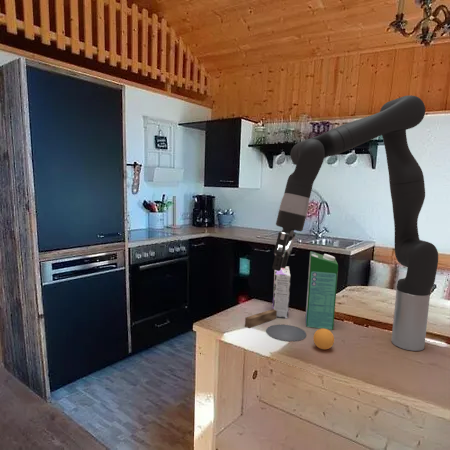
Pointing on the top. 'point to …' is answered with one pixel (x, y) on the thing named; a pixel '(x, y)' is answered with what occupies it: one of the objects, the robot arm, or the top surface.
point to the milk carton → (321, 291)
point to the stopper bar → (260, 318)
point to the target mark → (286, 332)
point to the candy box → (281, 292)
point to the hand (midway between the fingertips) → (278, 268)
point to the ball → (323, 338)
